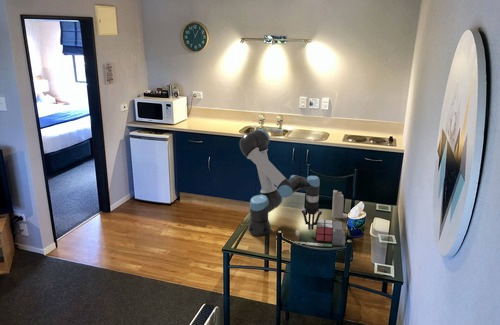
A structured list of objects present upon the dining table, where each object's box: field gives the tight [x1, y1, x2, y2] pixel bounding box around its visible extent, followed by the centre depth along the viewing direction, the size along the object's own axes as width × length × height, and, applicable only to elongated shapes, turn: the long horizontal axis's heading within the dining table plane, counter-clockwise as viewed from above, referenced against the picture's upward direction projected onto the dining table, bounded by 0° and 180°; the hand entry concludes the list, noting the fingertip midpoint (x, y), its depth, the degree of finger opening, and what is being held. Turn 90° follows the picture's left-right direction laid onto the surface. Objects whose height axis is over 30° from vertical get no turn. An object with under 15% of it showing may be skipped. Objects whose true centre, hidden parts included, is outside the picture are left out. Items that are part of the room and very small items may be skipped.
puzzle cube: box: [315, 219, 334, 243], centre depth 251 cm, size 10×10×10 cm
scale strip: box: [293, 240, 333, 248], centre depth 245 cm, size 23×2×1 cm, turn 79°
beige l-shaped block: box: [331, 189, 348, 219], centre depth 275 cm, size 7×14×20 cm, turn 89°
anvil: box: [331, 220, 346, 247], centre depth 249 cm, size 8×16×9 cm, turn 169°
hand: (310, 233), depth 254 cm, fingers closed
